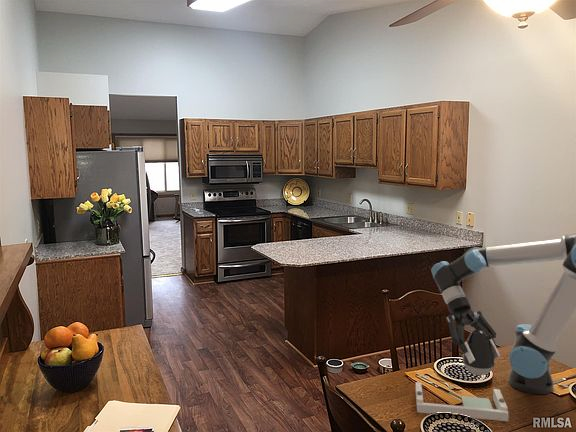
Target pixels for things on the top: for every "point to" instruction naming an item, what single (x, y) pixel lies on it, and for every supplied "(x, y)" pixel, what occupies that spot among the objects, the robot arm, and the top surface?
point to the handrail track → (467, 406)
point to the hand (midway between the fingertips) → (484, 359)
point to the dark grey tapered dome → (480, 353)
